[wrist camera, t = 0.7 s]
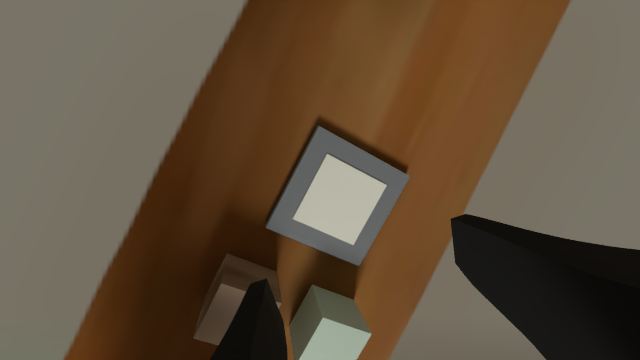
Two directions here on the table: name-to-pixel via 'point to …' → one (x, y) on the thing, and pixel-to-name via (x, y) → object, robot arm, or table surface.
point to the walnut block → (230, 296)
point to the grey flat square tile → (337, 198)
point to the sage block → (328, 327)
